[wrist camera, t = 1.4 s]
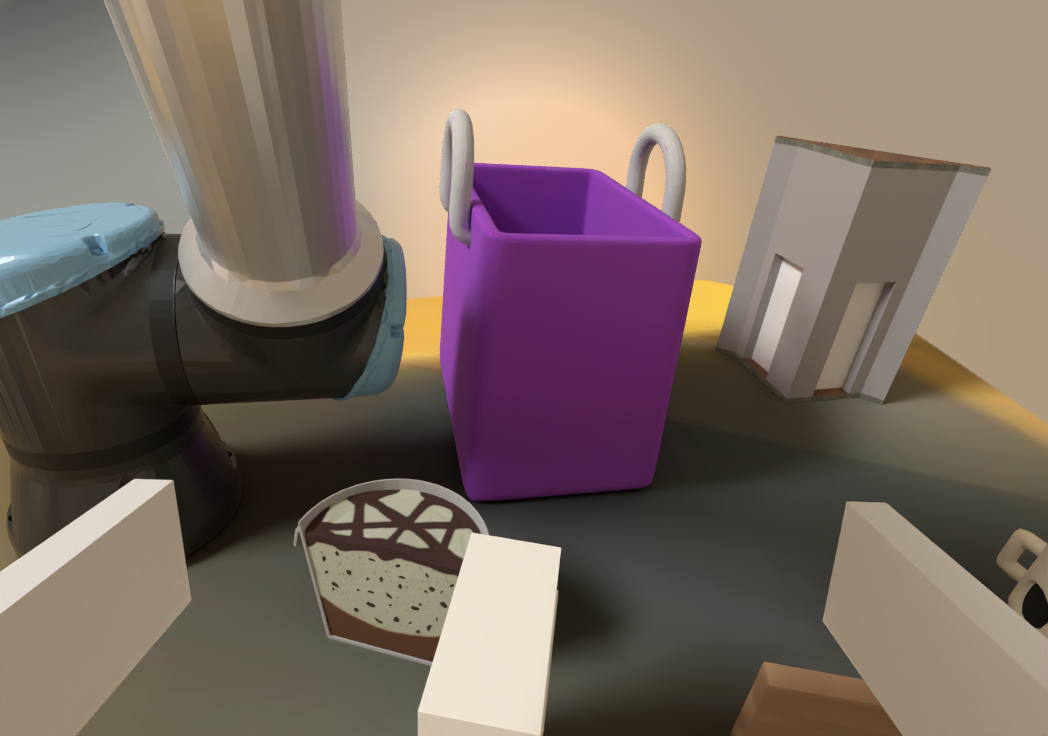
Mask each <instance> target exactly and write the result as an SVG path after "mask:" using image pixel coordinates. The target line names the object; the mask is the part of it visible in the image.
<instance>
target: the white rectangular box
mask: <svg viewBox="0 0 1048 736" xmlns="http://www.w3.org/2000/svg"><path fill="white" fill-rule="evenodd" d="M560 554H561V548H560V547H554V546H548V545H542V544H536V543H530V542H525V541H519V540H513V539H507V538H501V537H495V536H489V535H483V534H477V533H471V536H470V539H469V543H468V546H467V549H466V553H465V556H464V559H463V563H462V566H461V569H460V573H459V576H458V579H457V583H456V586H455V589H454V593H453V596H452V599H451V603H450V606H449V609H448V613H447V616H446V619H445V623H444V626H443V629H442V633H441V636H440V639H439V643H438V646H437V649H436V653H435V656H434V659H433V663H432V666H431V670H430V673H429V676H428V680H427V683H426V686H425V690H424V693H423V696H422V700H421V703H420V706H419V710H418V736H543V732H544V723H545V713H546V704H547V695H548V685H549V676H550V666H551V657H552V648H553V638H554V629H555V619H556V610H557V601H558V591H559V590H557V581H558V572H559V563H560Z"/></svg>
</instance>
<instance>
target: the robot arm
mask: <svg viewBox="0 0 1048 736" xmlns="http://www.w3.org/2000/svg"><path fill="white" fill-rule="evenodd" d="M104 2H105V5H106V7H107V10H108V12H109V15H110V17H111V20H112V22H113V25H114V27H115V30H116V32H117V34H118V37H119V40H120V42H121V45H122V47H123V50H124V52H125V55H126V57H127V60H128V62H129V65H130V67H131V70H132V72H133V74H134V77H135V79H136V82H137V84H138V87H139V89H140V92H141V94H142V97H143V99H144V102H145V104H146V107H147V109H148V112H149V114H150V117H151V119H152V122H153V124H154V127H155V129H156V132H157V134H158V137H159V139H160V142H161V144H162V147H163V149H164V152H165V154H166V157H167V159H168V161H169V164H170V167H171V169H172V171H173V174H174V176H175V179H176V182H177V184H178V186H179V189H180V191H181V194H182V196H183V199H184V201H185V204H186V206H187V209H188V211H189V214H190V216H191V218H190V219H189V221H188V223H187V224H186V226H185V228H184V230H183V233H182V234H166V233H165V232H163V231H164V230H165V228H164V222H163V221H162V220H161V219H160V218H159V216H158V214H157V213H156V212H155V211H154V210H153V209H151V208H150V207H147V206H144V205H134V204H131V203H99V204H98V203H97V204H86V205H77V206H70V207H63V208H56V209H50V210H44V211H39V212H34V213H30V214H25V215H21V216H17V217H13V218H9V219H5V220H1V221H0V435H1V437H2V439H3V442H4V444H5V446H6V449H7V451H8V453H9V456H10V458H11V475H10V477H11V504H10V506H9V509H8V513H7V532H8V536H9V539H10V541H11V544H12V546H13V548H14V550H15V552H16V554H17V556H18V558H19V559H18V560H17V561H15V562H14V563H12V564H11V565H9V566H8V567H7V568H5V569H4V570H2V571H1V572H0V736H76V735H77V734H78V732H79V731H80V730H81V729H82V728H83V727H84V725H85V724H86V723H87V722H88V721H89V720H90V718H91V717H92V716H93V715H94V714H95V712H96V711H97V710H98V709H99V708H100V707H101V705H102V704H103V703H104V702H105V701H106V700H107V698H108V697H109V696H110V695H111V694H112V693H113V691H114V690H115V689H116V688H117V687H118V686H119V684H120V683H121V682H122V681H123V680H124V679H125V677H126V676H127V675H128V674H129V673H130V672H131V670H132V669H133V668H134V667H135V666H136V665H137V663H138V662H139V661H140V660H141V659H142V658H143V656H144V655H145V654H146V653H147V652H148V651H149V649H150V648H151V647H152V646H153V645H154V644H155V642H156V641H157V640H158V639H159V638H160V637H161V635H162V634H163V633H164V632H165V631H166V630H167V628H168V627H169V626H170V625H171V624H172V623H173V621H174V620H175V619H176V618H177V617H178V616H179V614H180V613H181V612H182V611H183V610H184V609H185V607H186V606H187V605H188V604H189V603H190V602H191V594H190V587H189V581H188V574H187V567H186V561H185V557H187V556H188V555H190V554H192V553H193V552H195V551H196V550H198V549H200V548H201V547H202V546H204V545H205V544H206V543H208V542H209V541H210V540H211V539H213V538H214V537H215V536H216V535H217V534H218V533H219V532H220V531H221V530H222V529H223V528H224V527H225V526H226V525H227V524H228V523H229V521H230V520H231V519H232V517H233V516H234V514H235V512H236V511H237V509H238V507H239V504H240V501H241V498H242V491H243V486H242V480H241V475H240V470H239V465H238V462H237V459H236V457H235V455H234V453H233V452H232V450H231V449H230V448H229V447H228V445H227V444H226V443H225V442H223V441H222V440H221V439H220V436H219V434H218V432H217V431H216V429H215V427H214V426H213V424H212V423H211V421H210V420H209V419H208V417H207V416H206V414H205V413H204V412H203V410H202V408H201V405H208V404H227V403H247V402H267V401H287V400H307V399H326V398H333V399H334V400H340V401H342V400H348V399H349V398H351V397H357V396H367V395H376V394H379V393H382V392H384V391H385V390H387V389H388V388H389V387H390V386H391V385H392V383H393V382H394V380H395V378H396V376H397V373H398V370H399V366H400V362H401V357H402V351H403V342H404V330H403V326H404V323H405V316H406V268H405V259H404V254H403V250H402V247H401V245H400V244H399V243H398V242H397V241H396V240H395V239H392V238H387V237H385V236H383V235H381V233H380V230H379V228H378V225H377V223H376V221H375V220H374V218H373V217H372V215H371V214H370V213H369V212H368V211H367V210H366V209H365V207H363V205H361V204H360V203H359V202H358V201H356V200H355V190H354V176H353V164H352V163H353V162H352V149H351V135H350V121H349V108H348V94H347V81H346V68H345V54H344V40H343V27H342V14H341V0H104ZM823 622H824V624H825V625H826V627H827V628H828V629H829V631H830V632H831V634H832V635H833V637H834V638H835V640H836V641H837V642H838V644H839V645H840V647H841V648H842V650H843V651H844V652H845V654H846V655H847V657H848V658H849V660H850V661H851V662H852V664H853V665H854V667H855V668H856V670H857V671H858V672H859V674H860V675H861V677H862V678H863V680H864V681H865V682H866V684H867V685H868V687H869V688H870V690H871V691H872V693H873V694H874V695H875V697H876V698H877V700H878V701H879V703H880V704H881V705H882V707H883V708H884V710H885V711H886V713H887V714H888V715H889V717H890V718H891V720H892V721H893V723H894V724H895V725H896V727H897V728H898V730H899V731H900V733H901V734H902V735H903V736H1048V639H1047V638H1046V637H1045V636H1044V635H1042V634H1041V633H1040V632H1039V631H1038V630H1036V629H1035V628H1034V627H1033V626H1032V625H1030V624H1029V623H1028V622H1027V621H1026V620H1025V619H1023V618H1022V617H1021V616H1020V615H1019V614H1017V613H1016V612H1015V611H1014V610H1013V609H1011V608H1010V607H1009V606H1008V605H1007V604H1006V603H1004V602H1003V601H1002V600H1001V599H1000V598H998V597H997V596H996V595H995V594H994V593H992V592H991V591H990V590H989V589H988V588H987V587H985V586H984V585H983V584H982V583H981V582H979V581H978V580H977V579H976V578H975V577H974V576H972V575H971V574H970V573H969V572H968V571H966V570H965V569H964V568H963V567H962V566H960V565H959V564H958V563H957V562H956V561H955V560H953V559H952V558H951V557H950V556H949V555H947V554H946V553H945V552H944V551H943V550H941V549H940V548H939V547H938V546H937V545H936V544H934V543H933V542H932V541H931V540H930V539H928V538H927V537H926V536H925V535H924V534H922V533H921V532H920V531H919V530H918V529H917V528H915V527H914V526H913V525H912V524H911V523H909V522H908V521H907V520H906V519H905V518H903V517H902V516H901V515H900V514H899V513H898V512H896V511H895V510H894V509H893V508H892V507H890V506H889V505H888V504H887V503H879V502H846V507H845V512H844V517H843V521H842V526H841V531H840V536H839V541H838V546H837V551H836V556H835V561H834V566H833V571H832V576H831V581H830V586H829V591H828V596H827V601H826V606H825V611H824V616H823Z"/></svg>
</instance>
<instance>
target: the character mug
mask: <svg viewBox="0 0 1048 736" xmlns="http://www.w3.org/2000/svg"><path fill="white" fill-rule="evenodd" d="M1026 548H1027V549H1028V550H1029V551H1031V552H1032V553H1033V554H1035V555H1036V556H1038V557H1037V559H1036V560H1035V561H1034V563H1033V564H1032V565H1031V567H1030V568H1029V569H1028V570H1026V569H1025V568H1024V567H1023V566H1021V565H1020V564H1019V563H1018V562H1017V560H1018V558H1019V557H1020V556H1021V554H1022V553H1023V551H1024V550H1025V549H1026ZM996 563H997V565H998V566H999V567H1000V568H1001V569H1002V570H1003V571H1004V572H1005V573H1007V574H1008V575H1009V576H1010V577H1012V578H1013V579H1014V580H1015V581H1017V582H1018V584H1017V585H1016V587H1015V588H1014V590H1013V591H1012V593H1011V594H1010V595H1009V597H1008V606H1009V607H1010V608H1011V609H1013V610H1014V611H1015V612H1016V613H1017V614H1019V615H1020V616H1021V617H1022V618H1023V619H1025V620H1026V621H1027V622H1028V623H1029V624H1030V625H1032V626H1033V627H1034V628H1035V629H1036V630H1038V631H1039V632H1040V633H1041V634H1042V635H1044V636H1045V637H1046V638H1047V639H1048V543H1046V542H1044V541H1043V540H1041V539H1040V538H1039V537H1037V536H1036V535H1034V534H1033V533H1031V532H1028V531H1026V530H1023V529H1021V528H1020V529H1018V530H1017V531H1015V532H1014V533H1013V534H1012V536H1011V537H1010V539H1009V540H1008V542H1007V543H1006V545H1005V546H1004V547H1003V549H1002V550H1001V552H1000V553H999V555H998V556H997V561H996Z"/></svg>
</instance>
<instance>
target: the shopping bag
mask: <svg viewBox="0 0 1048 736" xmlns="http://www.w3.org/2000/svg"><path fill="white" fill-rule="evenodd" d="M656 144H659V146H660V147H661V150H662V152H663V156H664V161H665V167H666V168H665V169H666V181H665V193H664V199H663V206H662V211H661V210H659V209H658V208H656V207H655V206H653V205H651V204H650V203H648V202H647V201H645V200H644V199H642V193H643V185H644V178H645V171H646V167H647V163H648V159H649V155H650V153H651V151H652V149H653V147H654V146H655V145H656ZM685 184H686V163H685V156H684V152H683V147H682V144H681V142H680V139H679V137H678V135H677V134H676V132H675V131H674V130H673V129H672V128H671V127H669V126H667V125H665V124H662V123H660V124H653V125H651V126H649V127H648V128H646V129H645V130H644V131H643V132H642V133H641V135H640V136H639V138H638V140H637V142H636V143H635V146H634V149H633V151H632V155H631V158H630V163H629V169H628V176H627V185H626V187H624V186H622V185H621V184H619V183H618V182H616V181H615V180H613V179H611V178H610V177H609V176H607V175H606V174H604V173H602V172H600V171H598V170H594V169H583V168H564V167H545V166H523V165H505V164H503V165H502V164H484V163H474V136H473V128H472V122H471V119H470V117H469V115H468V114H467V113H466V112H465V111H463V110H460V109H457V110H454V111H452V112H451V113H450V114H449V116H448V118H447V121H446V125H445V130H444V138H443V145H442V156H441V170H440V186H439V189H440V199H441V203H442V205H443V207H444V209H445V210H446V211H447V212H448V223H447V239H446V257H445V274H444V291H443V308H442V325H441V342H440V363H441V369H442V374H443V380H444V385H445V390H446V396H447V401H448V407H449V412H450V417H451V423H452V428H453V434H454V439H455V444H456V450H457V455H458V461H459V466H460V471H461V477H462V482H463V486H464V489H465V492H466V494H467V496H468V497H469V498H470V499H471V500H473V501H496V500H509V499H521V498H533V497H545V496H557V495H569V494H581V493H592V492H604V491H616V490H627V489H636V488H643V487H646V486H648V485H649V484H650V483H651V481H652V479H653V476H654V473H655V469H656V464H657V459H658V454H659V449H660V444H661V439H662V435H663V430H664V425H665V420H666V415H667V410H668V405H669V400H670V395H671V390H672V385H673V380H674V375H675V371H676V366H677V361H678V356H679V351H680V346H681V341H682V337H683V332H684V327H685V322H686V317H687V312H688V307H689V302H690V297H691V292H692V287H693V282H694V277H695V272H696V267H697V263H698V257H699V252H700V248H701V238H700V237H699V236H698V235H697V234H696V233H694V232H693V231H691V230H689V229H688V228H686V227H685V226H684V225H682V224H681V223H679V222H680V218H681V212H682V206H683V200H684V194H685Z"/></svg>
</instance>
